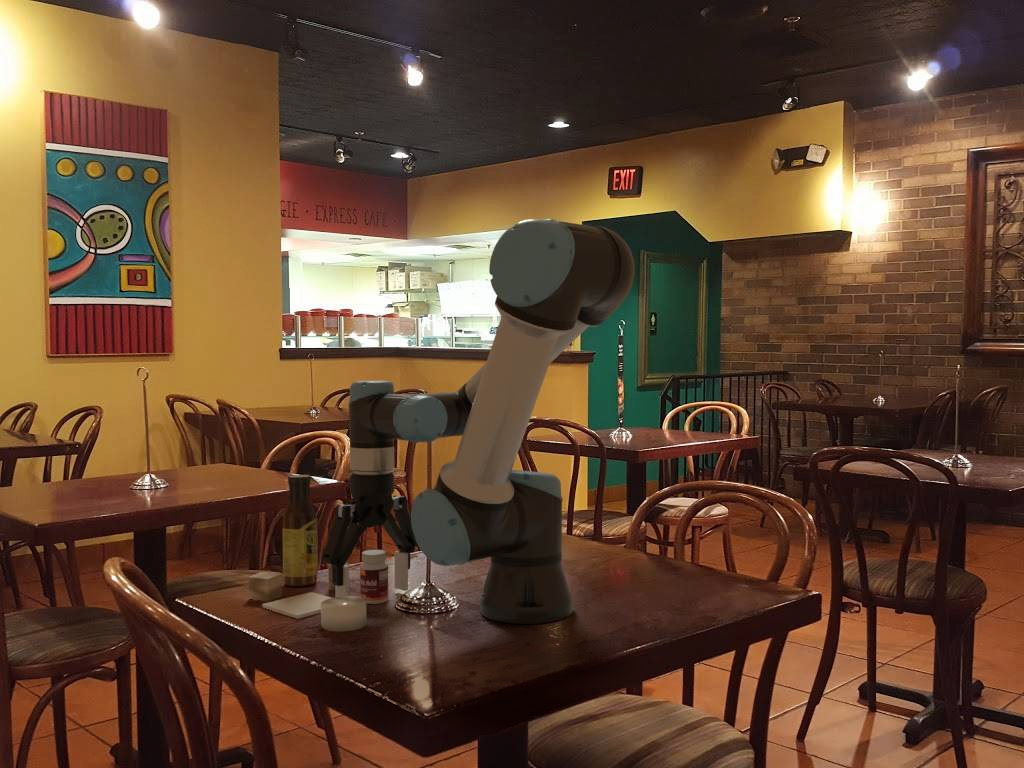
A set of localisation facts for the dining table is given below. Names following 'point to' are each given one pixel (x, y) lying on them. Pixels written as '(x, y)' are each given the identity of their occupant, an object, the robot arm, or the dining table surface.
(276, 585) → the beech block
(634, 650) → the dining table surface
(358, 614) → the white squat cylinder
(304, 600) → the tile
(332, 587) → the cork
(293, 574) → the sauce bottle
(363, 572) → the pill bottle
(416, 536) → the robot arm
